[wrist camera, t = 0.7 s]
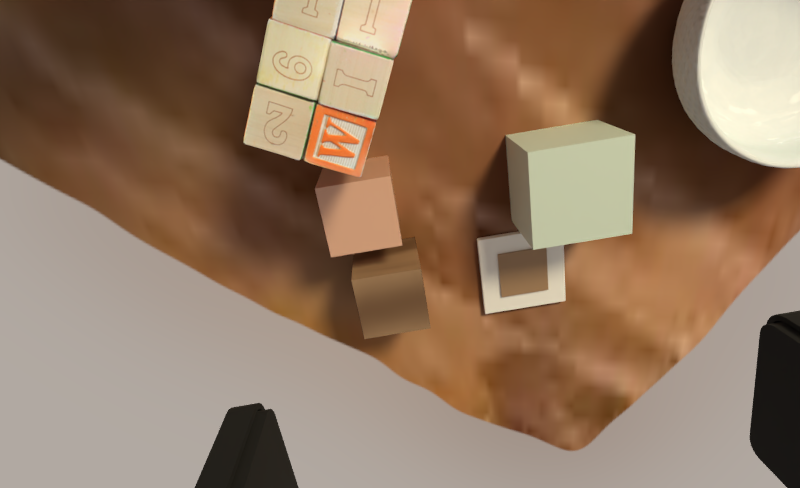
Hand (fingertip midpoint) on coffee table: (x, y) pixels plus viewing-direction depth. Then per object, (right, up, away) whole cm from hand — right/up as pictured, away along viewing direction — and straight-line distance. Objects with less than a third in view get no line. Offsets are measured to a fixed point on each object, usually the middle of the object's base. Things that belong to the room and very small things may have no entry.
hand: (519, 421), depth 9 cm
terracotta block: (-5, +8, +29) cm, 31 cm away
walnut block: (-3, +1, +32) cm, 32 cm away
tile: (+8, +1, +32) cm, 33 cm away
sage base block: (+10, +9, +29) cm, 32 cm away
